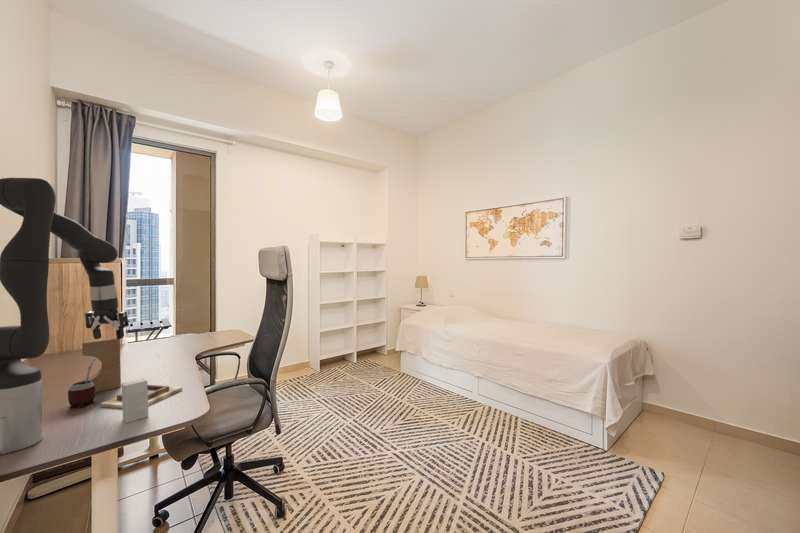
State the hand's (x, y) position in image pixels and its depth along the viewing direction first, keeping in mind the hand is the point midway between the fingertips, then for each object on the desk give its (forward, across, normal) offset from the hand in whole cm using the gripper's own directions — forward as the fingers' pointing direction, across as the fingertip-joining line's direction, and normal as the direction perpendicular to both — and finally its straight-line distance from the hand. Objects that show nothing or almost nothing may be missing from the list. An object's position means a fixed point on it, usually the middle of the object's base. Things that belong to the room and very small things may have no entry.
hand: (109, 338), depth 126 cm
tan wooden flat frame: (+21, +15, -5) cm, 27 cm away
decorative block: (+23, -9, +4) cm, 25 cm away
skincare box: (+20, +25, -21) cm, 38 cm away
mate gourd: (+21, -2, -11) cm, 24 cm away
